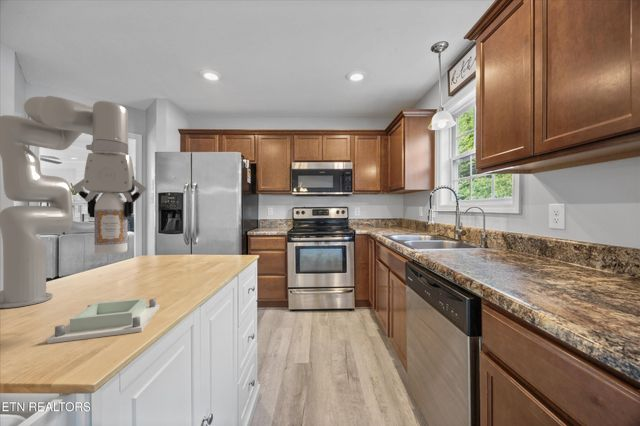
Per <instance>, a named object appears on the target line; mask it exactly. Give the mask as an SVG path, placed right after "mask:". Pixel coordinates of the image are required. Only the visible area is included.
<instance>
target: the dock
mask: <svg viewBox="0 0 640 426" xmlns="http://www.w3.org/2000/svg"><path fill="white" fill-rule="evenodd" d="M159 309H160V304H157V303H156V298H151V299H149V301H148V305H147V298H146V297H144V298H134V299H131V298H130V299H123V300H121V299H120V300H110V301H109V300H108V301H101V302H93V303H91V304H89V305H87V307H86V308H85V309H83V310H82V311H80V312H79V313H77V314H76V315H74V316H72V317H71V318H69V324H67V325H65V324H59V325H56V326H55V327H54V334H52V335H51V336H50V337H48V338H47V339H46V341H47V344H55V343H62V342H69V341H71V342H72V341H79V340H86V339H94V338H103V337H111V336H118V335H124V334H133V333H141V332H143V331H144V329H145V328H146V327H147V326H148V324H149V322H150V321H151V319H152V318H153V317H154V315H155V314H156V313H157V311H158V310H159Z"/></svg>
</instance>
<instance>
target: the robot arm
mask: <svg viewBox="0 0 640 426" xmlns="http://www.w3.org/2000/svg"><path fill="white" fill-rule="evenodd" d="M23 111H24V112H25V114H26V115H27V116H28V117H29V118H28V117H23V116H18V115H17V116H16V115H7V114H6V115H4V114H3V115H0V158H1V163H2V164H1V165H2V182H3V190H4V191H3V192H4V194H5V197H6V198H7V199H8V200H9V201H14V202H22V203H44V204H45V203H48V204H49V205H15V206H14V205H13V206H9V207H5V208H3V209H2V210H1V211H0V232H1V238H2V256H3V257H2V268H3V269H2V270H3V271H2V277H3V279H2V280H3V281H2V287H3V288H2V289H3V290H0V309H8V308H9V309H11V308H18V307H19V308H20V307H25V306H31V305H36V304H39V303H43V302H47V301H49V300H51V299H53V298H54V297H53V296H54V295H53V293H51V292H47V248H46V244H45V243H44V242H43V241H42V240H41V239H40V238H39V237H38V236H37V235H44V234H62V233H66V232H68V231H70V230H71V229H72V227H73V223H74V214H73V213H74V212H73V199H72V190H74V191H75V192H76V193H77V194H78V195H79V196H80V197H81V198H82V199H84V201H85V202H87V214H88V216H89V218H94V209H95V204H96V202H97V200H98V199H99V197H100V196H101V194H103V192H118V193H119V194H122V195H123V196H124V198H125V199H126V200H125V217H127V218H131V217H132V215H134V213H135V212H134V210H135V209H134V208H135V207H134V203H135V202H136V201H137V200H138V199H139V198H140V197H142V195H143V194H144V193H146V191H147V187H145V186H144V185H143V184H142V183H141V182H139V181H137V180H136V179H135V172H134V170H135V169H134V164H133V160H132V157H131V156H130V155H129V112H128V110H127V108H126V107H125V106H124V105H121V104H119V103H116V102H113V101H108V100H99V101H98V100H97V101H96V102H94V103H93V105H92V106H90V105H87V104H84V103H81V102H78V101H74V100H71V99H67V98H63V97H60V96H59V97H58V96H54V95H47V96H34V97H30V98H28V99H27V100H26V101H25V102H24V103H23ZM82 134H85V135H89V136H92V141H91V144H86V145H85V149H86V150H87V151H91V152H89V153H88V155H87V159H86V161H85V167H84V177H83V179H81V180H80V181H78V182H77V183H75V184H74V185H72V188H71V186H70V184H69V182H68V181H67V179H64V178H63V177H60V176H55V175H45V174H42V171H41V161H40V159H39V158H38V157H37V155H36V154H35V152H33V151H32V150H31V149H30V148H29V147H27V146H31V147H37V148H44V149H49V150H54V151H64V150H67V149H69V148H70V147H71V146H72V145H73V144H74V143H75V141H76V140H77V139H78V138H79V137H80V136H81V135H82ZM136 188H137V191H135V189H136ZM87 191H88V192H87ZM133 192H134V193H133ZM99 195H100V196H99Z"/></svg>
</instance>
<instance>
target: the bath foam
mask: <svg viewBox="0 0 640 426" xmlns="http://www.w3.org/2000/svg"><path fill="white" fill-rule="evenodd" d="M125 202H126V200H125V199H124V198H123V196H122V195H121V193H118V192H103V193H101V194H100V196H98V198H97V199H96V204H95V209H94V217H93V218H94V223H93V225H94V226H93V228H94V229H93V230H94V232H93V233H94V234H93V235H94V236H93V237H94V245H93V246H94V254H95V255H99V256H100V255H101V256H102V255H107V256H108V255H117V254H124V253H126V252H128V217H125Z"/></svg>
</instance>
